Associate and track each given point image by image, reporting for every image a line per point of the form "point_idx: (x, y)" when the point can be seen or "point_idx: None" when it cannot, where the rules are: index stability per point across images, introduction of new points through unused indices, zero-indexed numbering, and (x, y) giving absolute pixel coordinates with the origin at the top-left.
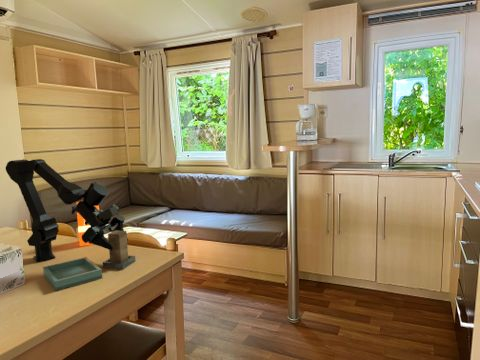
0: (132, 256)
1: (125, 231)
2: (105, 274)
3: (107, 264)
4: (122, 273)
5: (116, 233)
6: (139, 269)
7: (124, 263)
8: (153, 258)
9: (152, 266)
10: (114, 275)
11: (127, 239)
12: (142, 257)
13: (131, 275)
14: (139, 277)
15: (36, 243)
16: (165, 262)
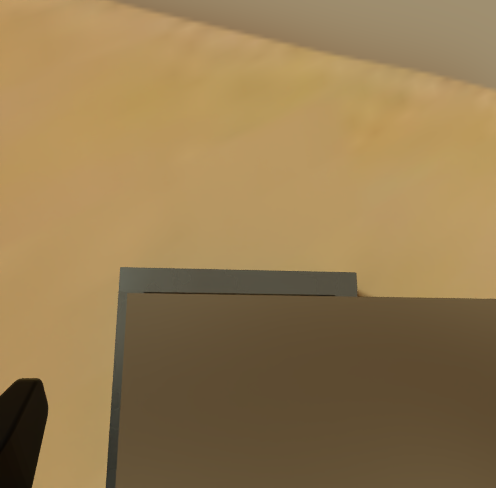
0: (140, 289)
1: (179, 295)
2: None
3: None
4: (408, 239)
5: (439, 464)
6: (304, 145)
7: (324, 273)
8: (34, 140)
9: (223, 72)
10: (459, 281)
11: (23, 385)
12: (16, 259)
13: (421, 150)
14: (435, 78)
15: None
16: (120, 5)
